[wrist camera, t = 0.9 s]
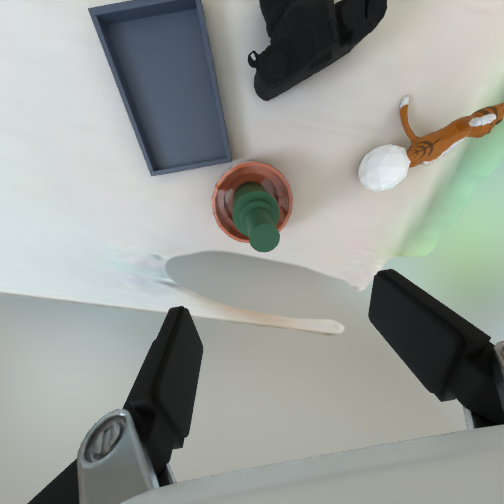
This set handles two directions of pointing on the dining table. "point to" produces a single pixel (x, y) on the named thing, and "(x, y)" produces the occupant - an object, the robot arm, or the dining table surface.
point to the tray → (165, 81)
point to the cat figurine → (422, 147)
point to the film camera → (309, 38)
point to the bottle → (256, 216)
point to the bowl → (246, 173)
